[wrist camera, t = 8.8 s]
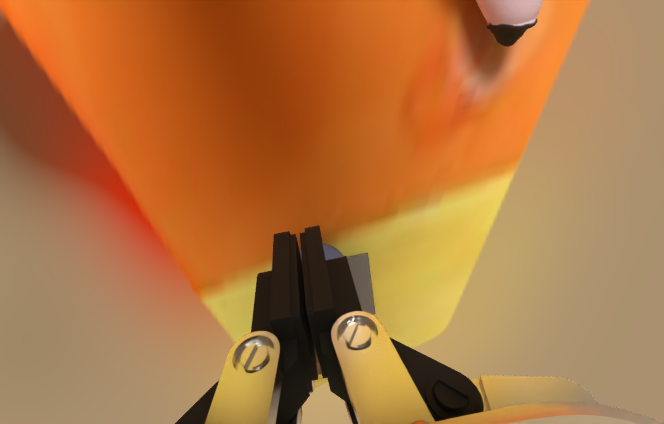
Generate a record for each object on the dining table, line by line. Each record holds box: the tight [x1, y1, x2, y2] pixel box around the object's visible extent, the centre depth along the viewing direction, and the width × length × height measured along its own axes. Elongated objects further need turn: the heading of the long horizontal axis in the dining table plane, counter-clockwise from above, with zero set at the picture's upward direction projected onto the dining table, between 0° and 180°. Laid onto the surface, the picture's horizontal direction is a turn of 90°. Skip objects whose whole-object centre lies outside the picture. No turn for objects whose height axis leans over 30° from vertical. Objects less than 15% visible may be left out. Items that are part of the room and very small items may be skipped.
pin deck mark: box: [347, 253, 375, 315], centre depth 35 cm, size 9×12×1 cm
